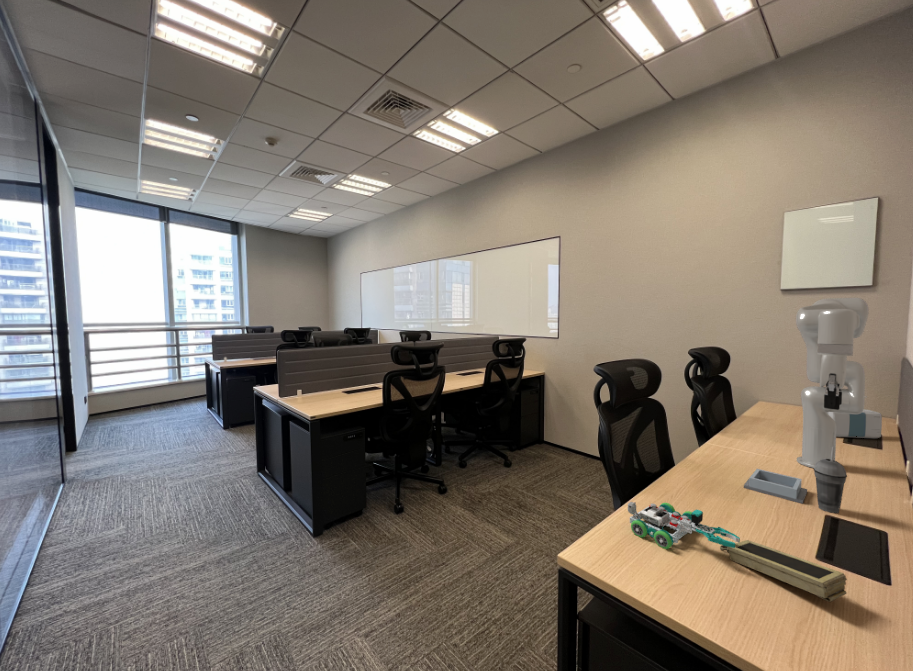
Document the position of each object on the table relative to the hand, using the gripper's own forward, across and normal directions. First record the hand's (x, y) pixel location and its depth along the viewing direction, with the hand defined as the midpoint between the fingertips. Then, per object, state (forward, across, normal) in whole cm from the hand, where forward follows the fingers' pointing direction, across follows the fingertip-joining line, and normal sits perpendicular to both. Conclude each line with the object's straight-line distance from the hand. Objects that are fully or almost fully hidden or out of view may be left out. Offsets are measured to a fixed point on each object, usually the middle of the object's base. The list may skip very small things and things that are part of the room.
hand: (832, 406), depth 111 cm
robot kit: (+33, +50, -25) cm, 65 cm away
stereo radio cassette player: (+32, -109, +1) cm, 114 cm away
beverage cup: (+32, 0, 0) cm, 32 cm away
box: (+33, +50, -6) cm, 60 cm away
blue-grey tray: (+32, -5, -13) cm, 35 cm away
